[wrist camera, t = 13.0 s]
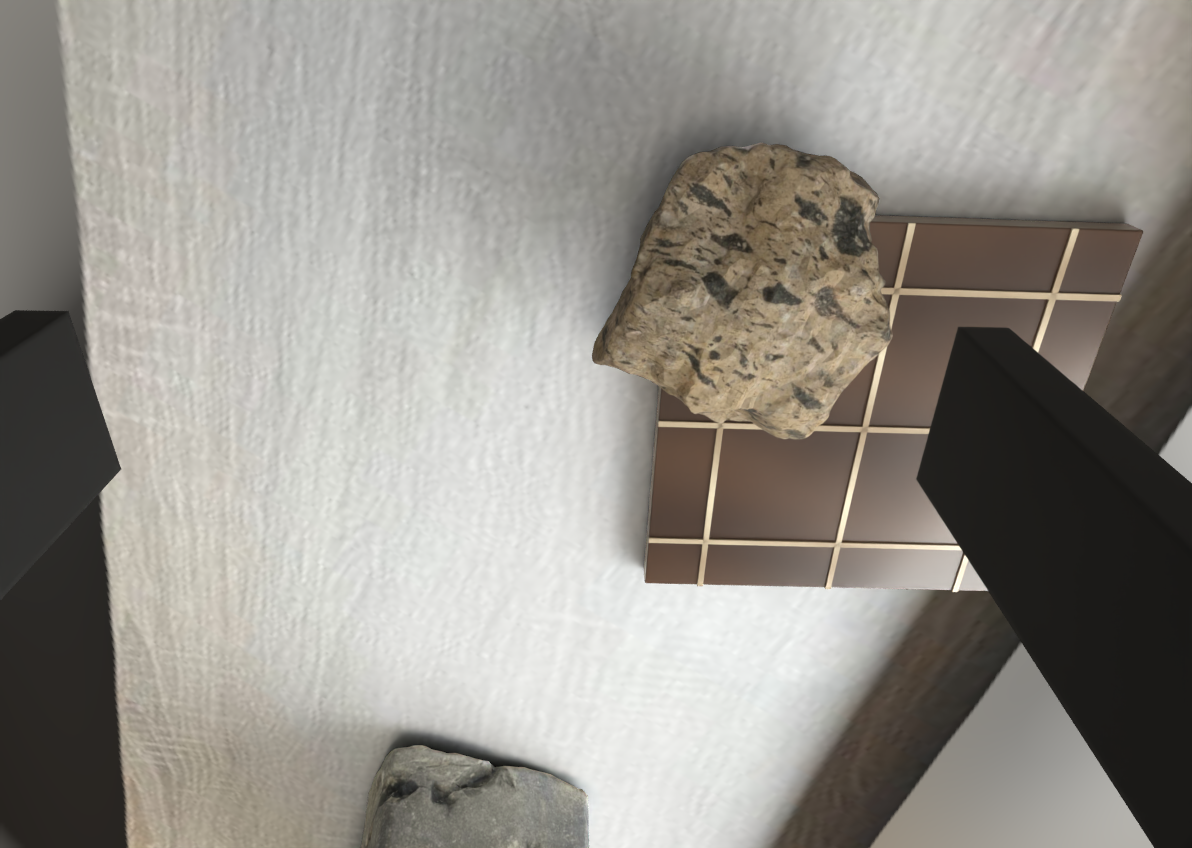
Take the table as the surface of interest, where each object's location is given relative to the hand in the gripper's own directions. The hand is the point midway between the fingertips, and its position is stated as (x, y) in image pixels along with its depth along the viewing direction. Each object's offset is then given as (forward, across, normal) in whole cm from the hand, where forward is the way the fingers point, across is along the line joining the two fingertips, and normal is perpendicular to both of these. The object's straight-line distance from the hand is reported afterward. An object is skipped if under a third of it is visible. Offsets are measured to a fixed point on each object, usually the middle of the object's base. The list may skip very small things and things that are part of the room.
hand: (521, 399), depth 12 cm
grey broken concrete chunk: (+23, -7, -47) cm, 53 cm away
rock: (+22, +8, -6) cm, 24 cm away
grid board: (+23, +15, -13) cm, 31 cm away
